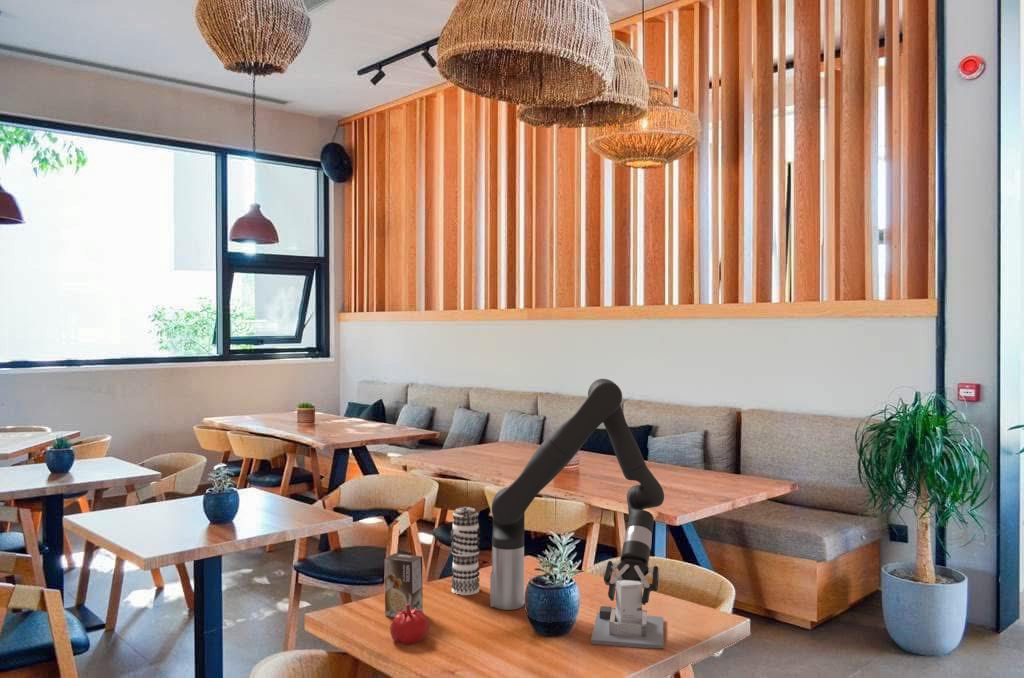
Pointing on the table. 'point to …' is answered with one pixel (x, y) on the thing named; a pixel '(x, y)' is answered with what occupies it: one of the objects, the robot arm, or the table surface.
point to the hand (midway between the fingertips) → (627, 601)
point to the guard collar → (627, 626)
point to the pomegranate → (409, 626)
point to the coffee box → (403, 583)
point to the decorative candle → (465, 551)
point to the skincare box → (629, 601)
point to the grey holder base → (650, 641)
